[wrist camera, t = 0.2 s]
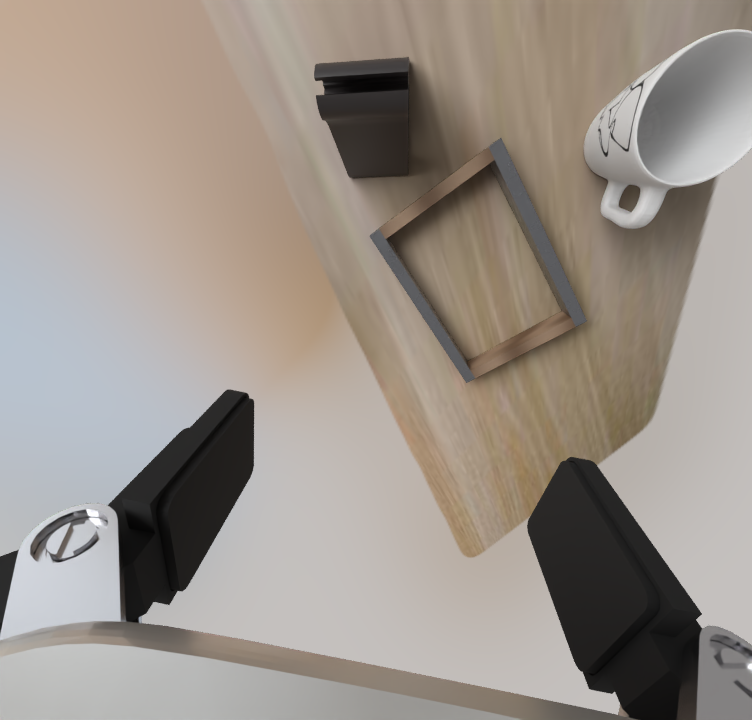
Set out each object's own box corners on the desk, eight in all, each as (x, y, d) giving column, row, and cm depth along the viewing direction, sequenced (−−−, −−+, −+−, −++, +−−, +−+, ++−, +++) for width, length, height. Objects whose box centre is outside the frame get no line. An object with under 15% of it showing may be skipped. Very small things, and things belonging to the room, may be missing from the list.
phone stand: (407, 175, 33) (407, 164, 23) (349, 177, 34) (321, 167, 23) (410, 60, 29) (410, -20, 19) (343, 64, 30) (306, -12, 19)
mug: (634, 226, 33) (717, 235, 24) (549, 220, 34) (599, 228, 25) (688, 83, 28) (817, 29, 19) (586, 79, 29) (667, 25, 20)
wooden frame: (494, 142, 31) (501, 137, 29) (576, 313, 38) (586, 321, 35) (371, 233, 36) (369, 235, 34) (463, 373, 42) (466, 382, 40)
